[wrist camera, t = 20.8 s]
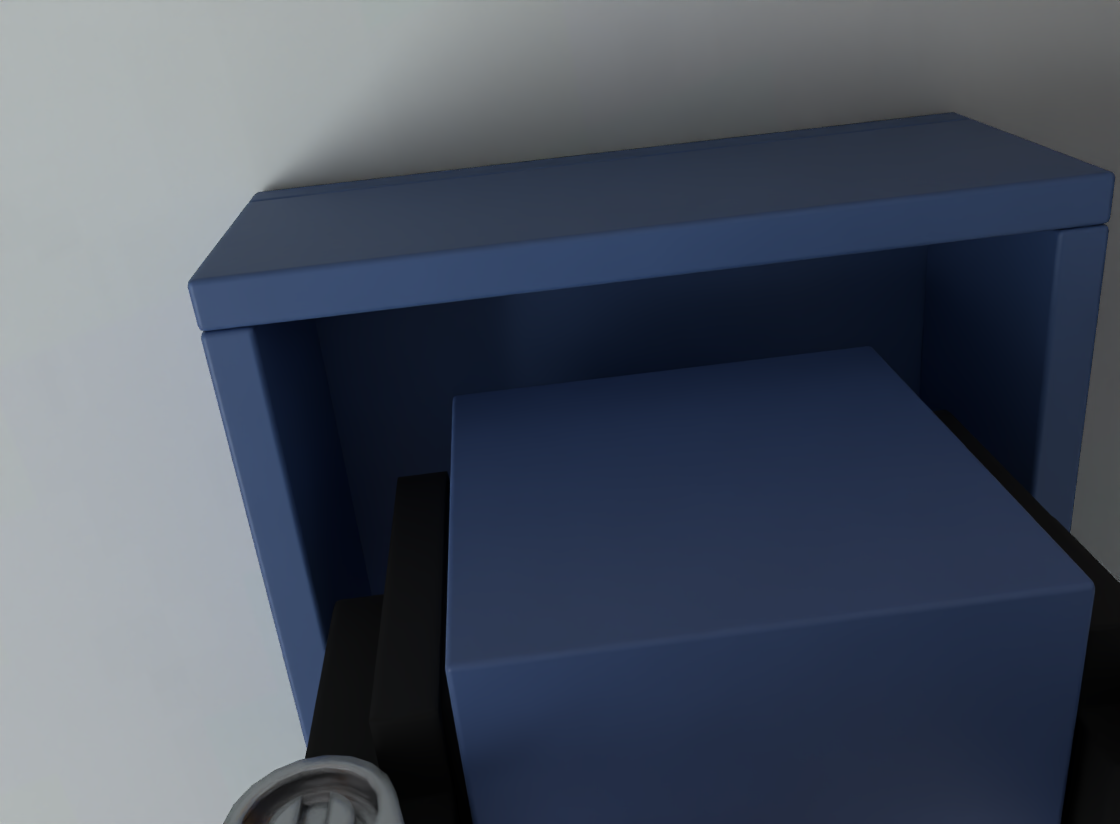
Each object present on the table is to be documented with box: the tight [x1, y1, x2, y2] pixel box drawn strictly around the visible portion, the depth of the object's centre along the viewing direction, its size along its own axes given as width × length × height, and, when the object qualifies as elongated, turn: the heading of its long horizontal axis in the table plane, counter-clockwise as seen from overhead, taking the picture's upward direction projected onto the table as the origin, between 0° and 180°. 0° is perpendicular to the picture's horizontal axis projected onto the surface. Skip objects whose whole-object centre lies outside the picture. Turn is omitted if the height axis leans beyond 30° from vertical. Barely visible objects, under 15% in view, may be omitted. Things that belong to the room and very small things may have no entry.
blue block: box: [445, 346, 1095, 824], centre depth 10 cm, size 4×4×4 cm
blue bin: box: [188, 112, 1115, 747], centre depth 13 cm, size 8×8×4 cm
